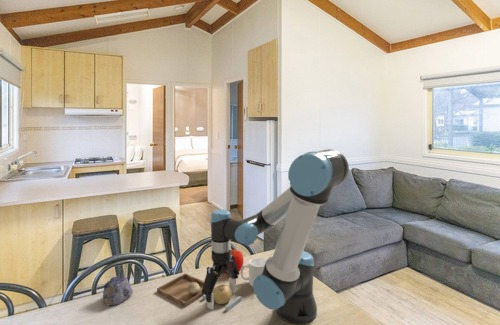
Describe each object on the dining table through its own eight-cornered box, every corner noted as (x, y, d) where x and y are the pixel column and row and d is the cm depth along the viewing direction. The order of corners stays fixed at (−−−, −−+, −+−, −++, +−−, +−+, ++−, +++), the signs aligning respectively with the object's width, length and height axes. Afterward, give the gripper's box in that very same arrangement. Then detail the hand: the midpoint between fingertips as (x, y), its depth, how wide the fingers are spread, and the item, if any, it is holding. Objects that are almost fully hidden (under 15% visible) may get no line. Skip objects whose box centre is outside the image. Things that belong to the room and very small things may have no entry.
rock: (120, 281, 129) (121, 268, 123) (135, 298, 125) (136, 285, 119) (96, 298, 121) (95, 284, 115) (111, 316, 117) (111, 302, 111)
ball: (202, 293, 124) (202, 282, 123) (193, 299, 120) (193, 287, 119) (194, 289, 126) (193, 278, 126) (185, 295, 122) (184, 283, 122)
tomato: (220, 267, 147) (220, 246, 145) (241, 265, 148) (241, 244, 147) (222, 278, 136) (222, 256, 135) (245, 276, 138) (245, 254, 137)
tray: (213, 289, 127) (213, 285, 127) (185, 308, 115) (185, 303, 114) (185, 277, 137) (185, 273, 137) (157, 292, 125) (157, 288, 125)
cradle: (241, 301, 119) (241, 296, 118) (227, 312, 112) (227, 307, 112) (217, 290, 126) (216, 286, 126) (202, 300, 120) (202, 295, 119)
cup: (268, 289, 128) (268, 266, 126) (240, 288, 128) (240, 266, 126) (267, 278, 136) (267, 257, 134) (241, 278, 136) (240, 257, 135)
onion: (208, 300, 120) (207, 284, 119) (223, 293, 125) (223, 277, 124) (219, 309, 114) (219, 292, 113) (236, 301, 119) (235, 285, 118)
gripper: (233, 237, 128) (234, 283, 131) (190, 258, 109) (192, 312, 112) (247, 241, 124) (247, 289, 127) (205, 264, 104) (206, 320, 107)
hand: (221, 300), depth 119 cm, fingers open, 12 cm apart
